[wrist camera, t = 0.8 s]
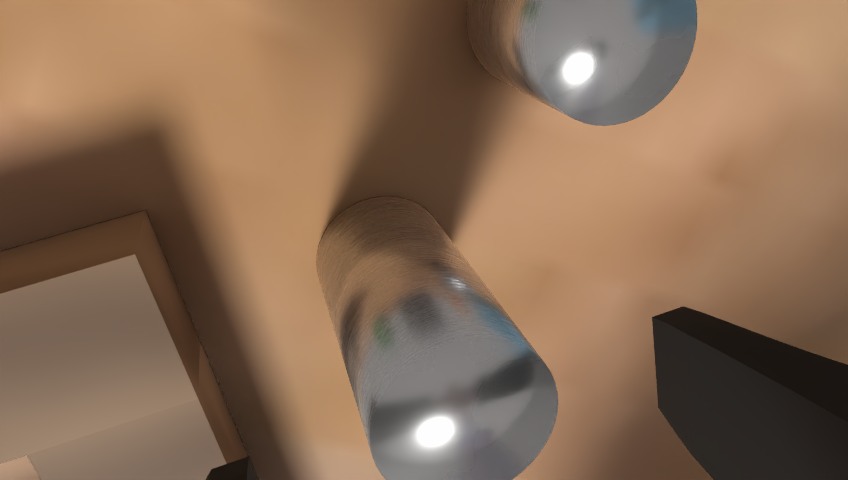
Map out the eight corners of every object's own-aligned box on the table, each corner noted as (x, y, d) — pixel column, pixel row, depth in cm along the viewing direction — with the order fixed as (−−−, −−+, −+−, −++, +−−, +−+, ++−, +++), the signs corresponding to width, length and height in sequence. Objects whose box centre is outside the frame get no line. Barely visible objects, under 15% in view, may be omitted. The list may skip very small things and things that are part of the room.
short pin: (604, 66, 18) (699, 100, 15) (479, 102, 18) (546, 145, 14) (591, -77, 17) (694, -79, 13) (454, -43, 16) (522, -35, 13)
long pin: (455, 293, 20) (568, 462, 13) (336, 332, 19) (395, 527, 13) (431, 179, 18) (545, 311, 12) (300, 218, 18) (348, 376, 11)
